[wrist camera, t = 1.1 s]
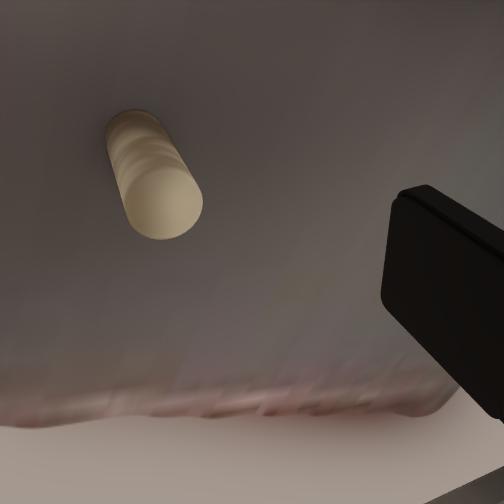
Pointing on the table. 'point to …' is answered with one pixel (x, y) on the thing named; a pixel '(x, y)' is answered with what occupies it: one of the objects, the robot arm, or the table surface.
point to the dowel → (151, 176)
